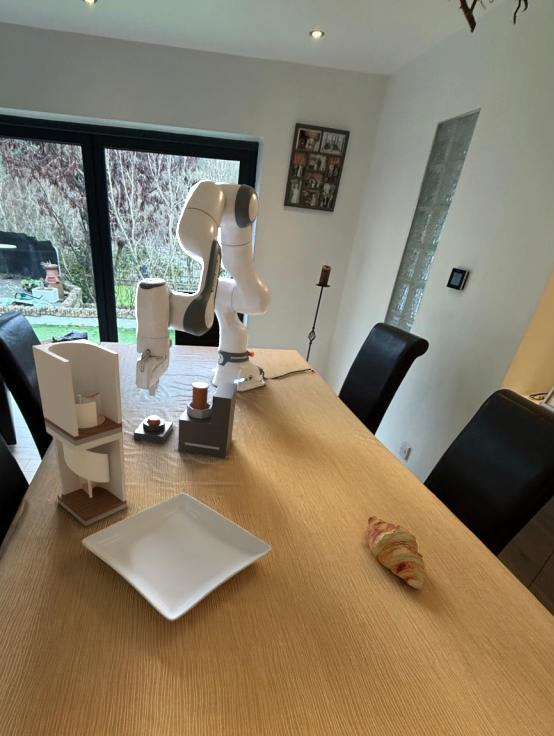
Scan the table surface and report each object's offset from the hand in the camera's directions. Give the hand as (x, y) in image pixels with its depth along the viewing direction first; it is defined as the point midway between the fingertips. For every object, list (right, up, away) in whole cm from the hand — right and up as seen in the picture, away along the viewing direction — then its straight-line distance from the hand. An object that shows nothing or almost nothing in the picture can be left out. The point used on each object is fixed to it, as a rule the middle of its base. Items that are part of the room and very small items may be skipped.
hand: (153, 394), depth 121 cm
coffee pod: (+13, -6, -2) cm, 15 cm away
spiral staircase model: (-10, -32, -26) cm, 42 cm away
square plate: (+11, -42, -38) cm, 58 cm away
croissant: (+56, -43, -32) cm, 78 cm away
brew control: (-1, -11, +7) cm, 13 cm away
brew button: (-1, -8, +5) cm, 9 cm away
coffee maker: (+15, -15, +3) cm, 21 cm away
